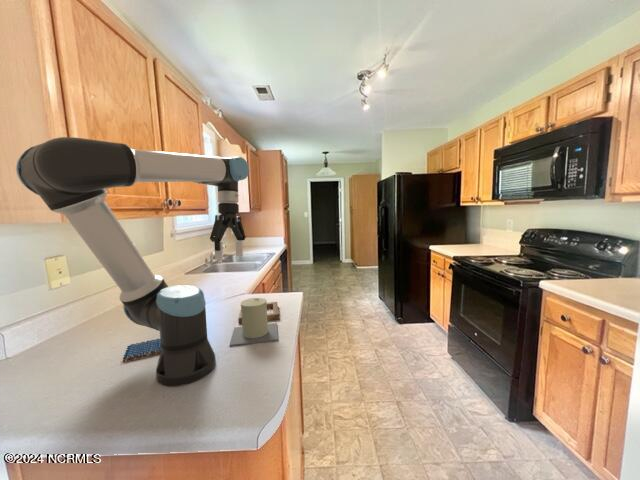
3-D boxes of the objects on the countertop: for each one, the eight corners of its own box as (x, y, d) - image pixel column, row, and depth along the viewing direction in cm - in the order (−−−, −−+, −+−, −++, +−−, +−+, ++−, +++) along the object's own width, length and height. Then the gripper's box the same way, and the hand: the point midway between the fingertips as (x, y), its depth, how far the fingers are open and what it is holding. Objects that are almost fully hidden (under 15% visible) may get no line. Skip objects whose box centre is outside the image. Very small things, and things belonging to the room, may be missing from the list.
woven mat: (163, 355, 86) (162, 349, 85) (122, 365, 81) (121, 358, 80) (164, 341, 95) (164, 336, 94) (128, 349, 90) (127, 344, 90)
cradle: (238, 323, 107) (238, 318, 107) (242, 309, 123) (242, 304, 123) (278, 319, 110) (278, 314, 110) (277, 306, 126) (277, 301, 126)
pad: (229, 346, 89) (229, 344, 89) (234, 328, 102) (234, 327, 102) (278, 340, 92) (278, 339, 92) (276, 324, 105) (276, 323, 105)
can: (271, 327, 102) (269, 296, 100) (263, 338, 92) (262, 305, 91) (247, 326, 102) (246, 296, 101) (238, 338, 93) (236, 304, 92)
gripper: (216, 199, 91) (218, 261, 92) (253, 205, 115) (254, 254, 116) (197, 200, 93) (199, 261, 93) (237, 206, 117) (238, 254, 118)
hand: (229, 257), depth 105 cm, fingers open, 13 cm apart
